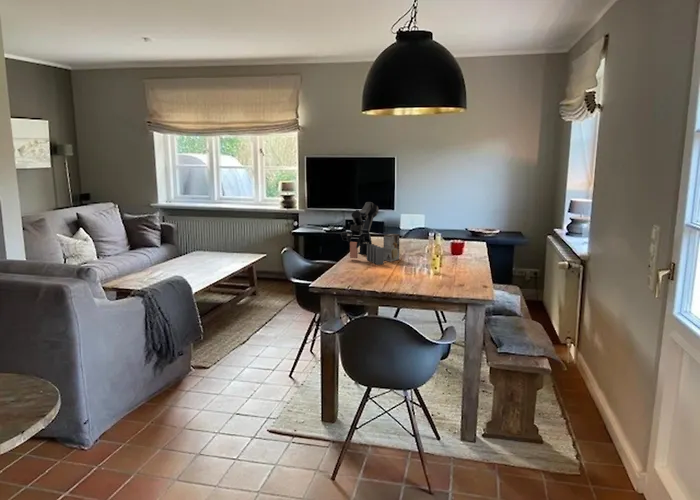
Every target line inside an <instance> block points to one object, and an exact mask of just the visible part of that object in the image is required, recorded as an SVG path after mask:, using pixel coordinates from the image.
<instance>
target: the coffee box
mask: <svg viewBox="0 0 700 500" xmlns="http://www.w3.org/2000/svg"><path fill="white" fill-rule="evenodd" d="M383 248H384V262H385V261H386V262H394V261H397V260H400V234H398V233H390V234H389V233H388V234H383Z"/></svg>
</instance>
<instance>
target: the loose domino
mask: <svg viewBox="0 0 700 500" xmlns="http://www.w3.org/2000/svg"><path fill="white" fill-rule="evenodd" d="M357 243H358V242H357V241H352V242H350V248H349V258H350V259H357V258H358V255H359V252H358V250H359V249H358V248H359V247H358V248H356V246H357ZM358 259H359V258H358Z"/></svg>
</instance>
